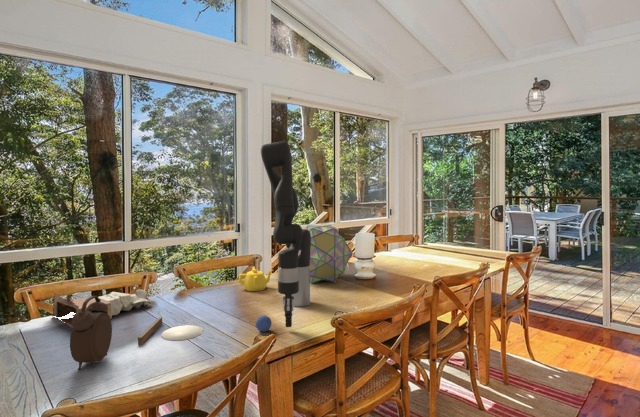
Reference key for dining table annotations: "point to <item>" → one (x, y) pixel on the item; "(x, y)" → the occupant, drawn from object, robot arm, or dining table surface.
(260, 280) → the teapot
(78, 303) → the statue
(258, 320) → the ball
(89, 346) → the alarm clock
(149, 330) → the strip
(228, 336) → the dining table surface
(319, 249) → the sculpture
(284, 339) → the dining table surface
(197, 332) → the disc
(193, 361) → the dining table surface
